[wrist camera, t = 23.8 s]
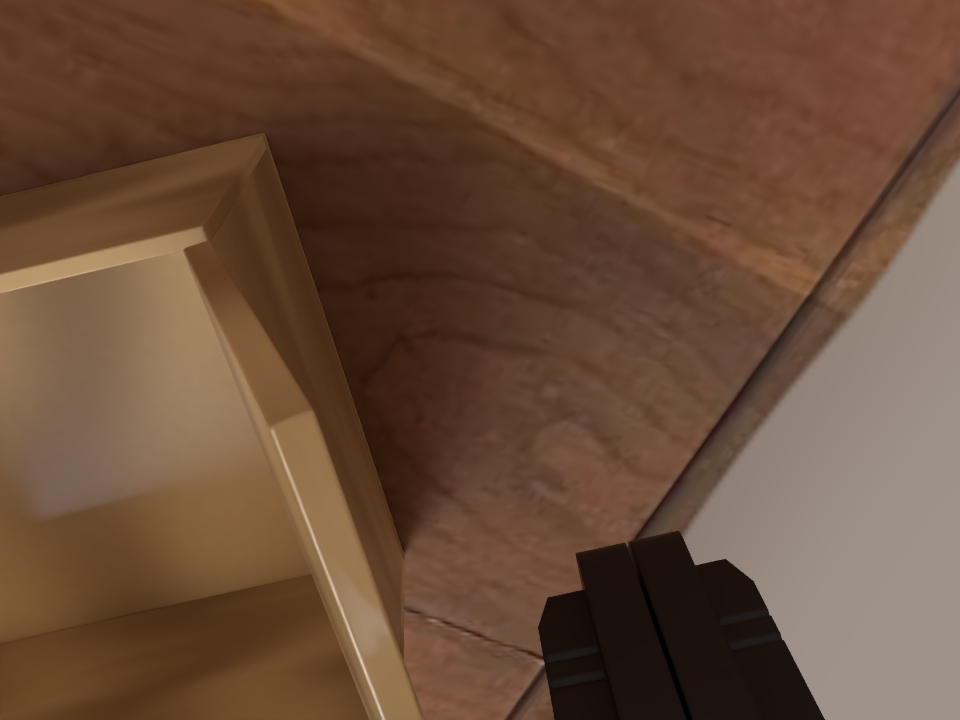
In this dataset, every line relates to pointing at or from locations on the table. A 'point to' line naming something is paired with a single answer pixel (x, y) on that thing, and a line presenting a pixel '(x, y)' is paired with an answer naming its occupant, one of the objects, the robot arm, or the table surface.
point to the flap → (308, 492)
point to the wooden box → (164, 456)
